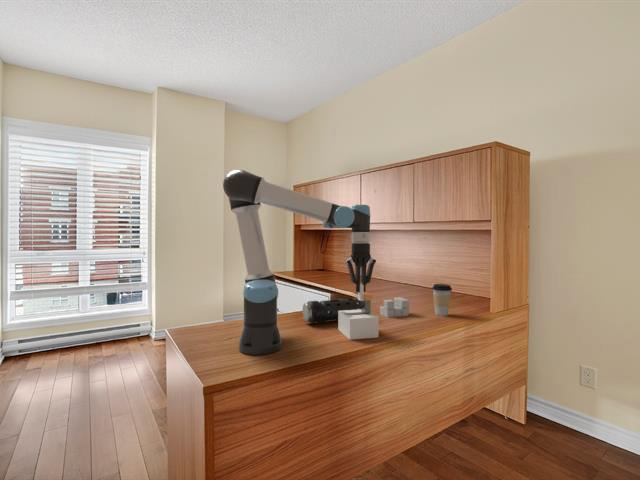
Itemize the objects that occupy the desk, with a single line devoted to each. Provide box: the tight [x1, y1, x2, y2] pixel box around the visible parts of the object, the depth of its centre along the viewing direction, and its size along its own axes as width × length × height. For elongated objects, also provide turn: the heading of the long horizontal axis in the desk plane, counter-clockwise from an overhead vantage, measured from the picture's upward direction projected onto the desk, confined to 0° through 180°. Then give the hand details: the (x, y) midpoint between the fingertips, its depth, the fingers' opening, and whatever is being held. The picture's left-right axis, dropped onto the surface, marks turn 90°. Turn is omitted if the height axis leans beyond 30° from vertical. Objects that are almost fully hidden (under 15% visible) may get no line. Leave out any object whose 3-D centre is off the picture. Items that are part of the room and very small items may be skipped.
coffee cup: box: [432, 283, 453, 317], centre depth 165 cm, size 9×9×15 cm
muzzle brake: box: [301, 297, 361, 324], centre depth 152 cm, size 10×28×10 cm, turn 113°
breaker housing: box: [337, 308, 380, 340], centre depth 134 cm, size 12×14×8 cm
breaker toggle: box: [361, 291, 373, 313], centre depth 135 cm, size 3×6×8 cm, turn 15°
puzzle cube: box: [379, 296, 410, 318], centre depth 167 cm, size 12×12×8 cm
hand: (360, 300), depth 134 cm, fingers closed
